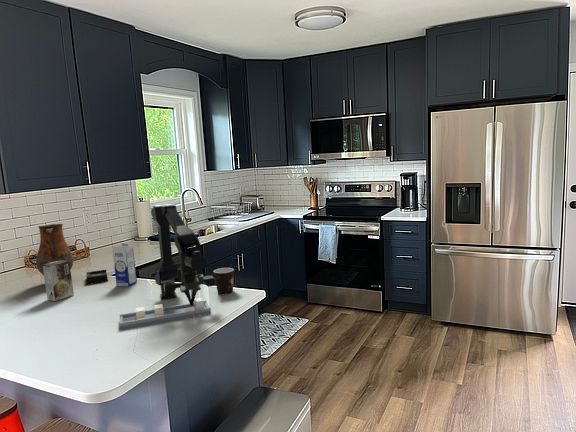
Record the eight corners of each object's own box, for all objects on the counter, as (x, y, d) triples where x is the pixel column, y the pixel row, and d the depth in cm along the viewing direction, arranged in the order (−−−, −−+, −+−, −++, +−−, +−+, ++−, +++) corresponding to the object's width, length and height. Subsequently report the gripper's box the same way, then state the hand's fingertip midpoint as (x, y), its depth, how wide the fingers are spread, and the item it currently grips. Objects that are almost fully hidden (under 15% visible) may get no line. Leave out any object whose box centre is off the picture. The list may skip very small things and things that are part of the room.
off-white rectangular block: (154, 313, 160) (153, 305, 160) (163, 312, 161) (162, 304, 161) (155, 316, 156) (154, 308, 156) (163, 315, 157) (163, 307, 157)
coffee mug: (226, 288, 191) (224, 266, 190) (239, 291, 186) (237, 269, 184) (205, 296, 182) (203, 273, 181) (219, 299, 177) (217, 275, 175)
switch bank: (120, 320, 159) (119, 314, 159) (206, 305, 170) (206, 300, 169) (119, 329, 150) (119, 323, 149) (211, 313, 160) (210, 307, 160)
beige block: (136, 316, 158) (135, 308, 157) (145, 315, 159) (144, 306, 158) (136, 320, 154) (135, 311, 154) (145, 318, 155) (144, 310, 155)
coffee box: (66, 293, 198) (61, 259, 196) (74, 295, 194) (70, 260, 192) (46, 299, 190) (41, 264, 188) (54, 301, 187) (50, 265, 185)
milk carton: (116, 286, 205) (111, 245, 202) (124, 282, 211) (120, 242, 209) (129, 286, 203) (124, 245, 200) (137, 282, 210) (133, 242, 207)
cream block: (194, 306, 165) (194, 298, 165) (202, 305, 166) (201, 297, 166) (196, 310, 161) (195, 302, 161) (204, 308, 162) (203, 300, 162)
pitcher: (76, 276, 229) (69, 221, 225) (75, 286, 210) (67, 225, 206) (40, 281, 222) (33, 224, 218) (36, 292, 203) (28, 229, 199)
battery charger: (108, 282, 214) (107, 274, 214) (87, 285, 211) (86, 277, 210) (107, 276, 226) (106, 269, 226) (87, 279, 222) (86, 272, 222)
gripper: (164, 274, 150) (168, 316, 152) (216, 267, 156) (220, 308, 158) (161, 267, 160) (165, 307, 162) (211, 260, 166) (214, 299, 169)
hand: (191, 305), depth 163 cm, fingers closed
